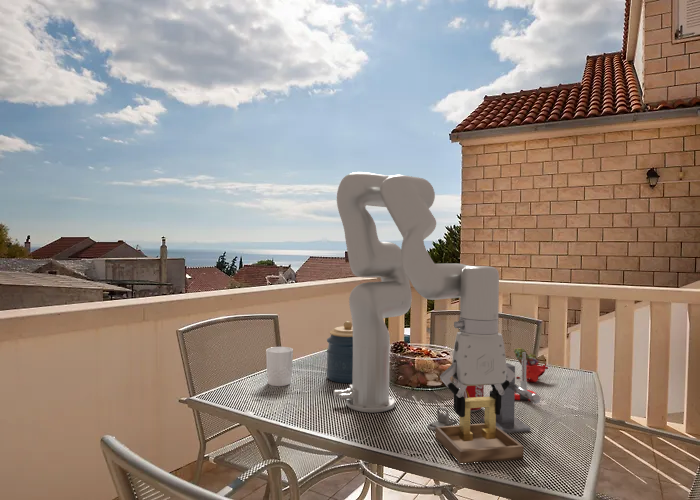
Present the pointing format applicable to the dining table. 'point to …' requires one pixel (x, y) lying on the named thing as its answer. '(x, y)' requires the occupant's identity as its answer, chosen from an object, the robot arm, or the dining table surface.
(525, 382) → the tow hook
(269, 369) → the white cup
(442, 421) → the strap clip
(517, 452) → the tray
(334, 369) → the canister
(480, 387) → the soda can
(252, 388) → the dining table surface
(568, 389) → the dining table surface
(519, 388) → the stand
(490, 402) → the c link
